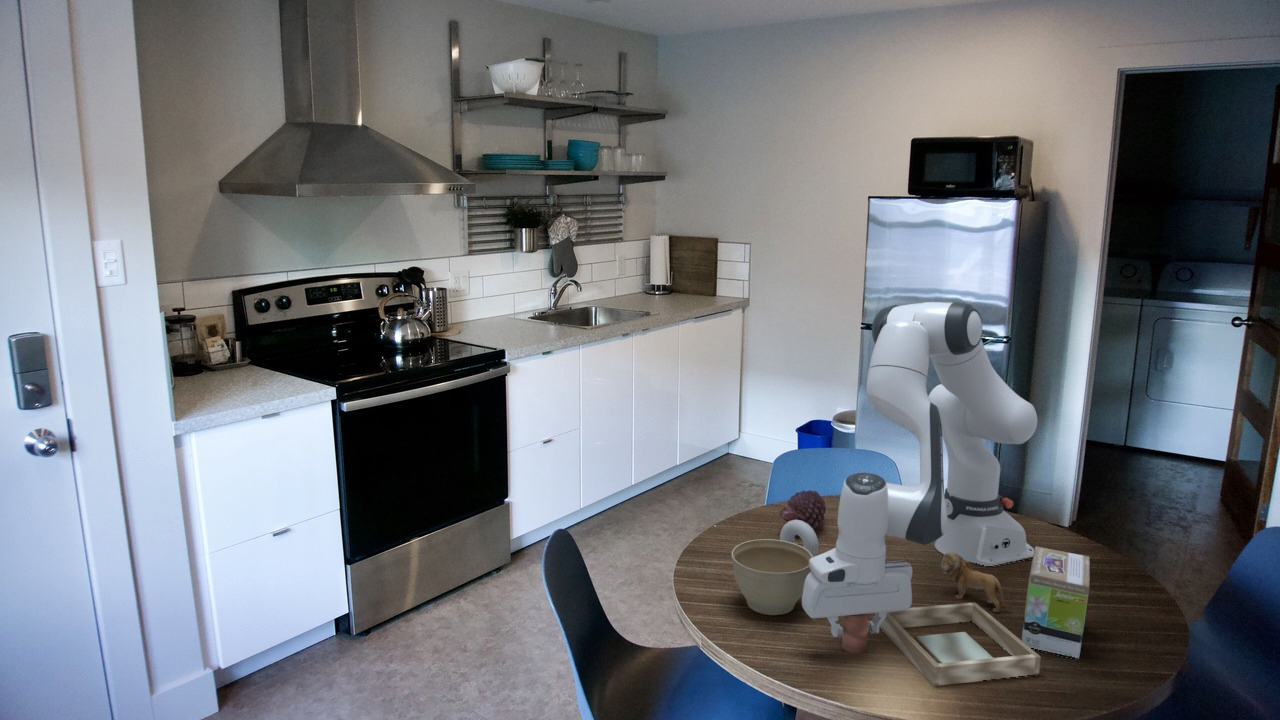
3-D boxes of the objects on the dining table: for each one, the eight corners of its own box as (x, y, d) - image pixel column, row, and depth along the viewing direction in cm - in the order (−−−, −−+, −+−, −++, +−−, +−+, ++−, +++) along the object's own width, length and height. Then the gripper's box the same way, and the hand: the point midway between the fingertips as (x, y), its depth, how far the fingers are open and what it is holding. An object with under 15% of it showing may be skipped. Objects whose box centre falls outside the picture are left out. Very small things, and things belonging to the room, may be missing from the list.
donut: (820, 567, 187) (823, 525, 185) (810, 572, 185) (813, 529, 183) (785, 553, 195) (787, 512, 193) (775, 557, 192) (777, 516, 190)
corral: (973, 618, 165) (975, 602, 165) (1038, 675, 146) (1040, 656, 146) (879, 627, 162) (880, 610, 161) (933, 686, 142) (935, 667, 142)
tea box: (1080, 662, 151) (1090, 585, 148) (1020, 647, 155) (1028, 573, 152) (1081, 625, 164) (1090, 554, 161) (1025, 612, 168) (1033, 543, 165)
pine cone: (804, 514, 219) (806, 477, 217) (839, 523, 212) (842, 486, 210) (769, 534, 205) (771, 496, 203) (806, 545, 199) (808, 505, 197)
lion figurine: (934, 594, 175) (938, 554, 174) (944, 585, 179) (947, 546, 178) (1007, 617, 166) (1012, 575, 164) (1015, 608, 170) (1020, 566, 168)
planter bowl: (762, 579, 181) (764, 532, 179) (825, 605, 170) (829, 555, 168) (713, 603, 170) (715, 553, 168) (778, 633, 159) (781, 580, 157)
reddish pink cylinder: (860, 639, 157) (862, 605, 156) (870, 652, 153) (873, 617, 151) (837, 641, 156) (840, 607, 155) (848, 654, 152) (850, 619, 151)
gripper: (904, 552, 156) (898, 620, 159) (800, 559, 152) (796, 629, 155) (921, 567, 150) (915, 637, 153) (813, 575, 146) (809, 647, 149)
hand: (854, 633), depth 154 cm, fingers open, 6 cm apart
